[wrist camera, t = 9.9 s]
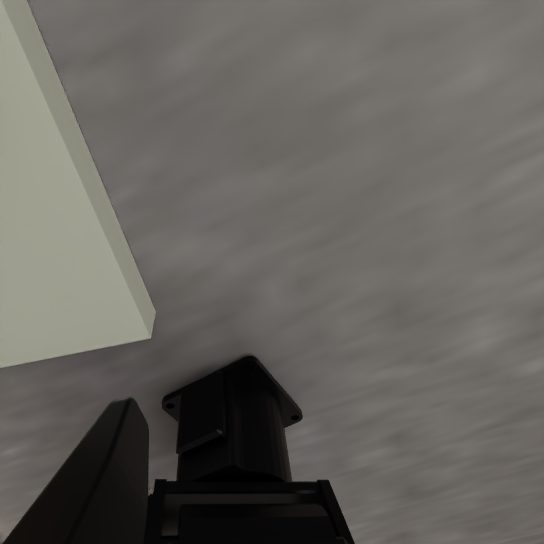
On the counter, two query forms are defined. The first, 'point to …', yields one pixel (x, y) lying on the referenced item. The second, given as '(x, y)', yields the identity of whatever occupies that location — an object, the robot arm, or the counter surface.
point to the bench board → (55, 218)
